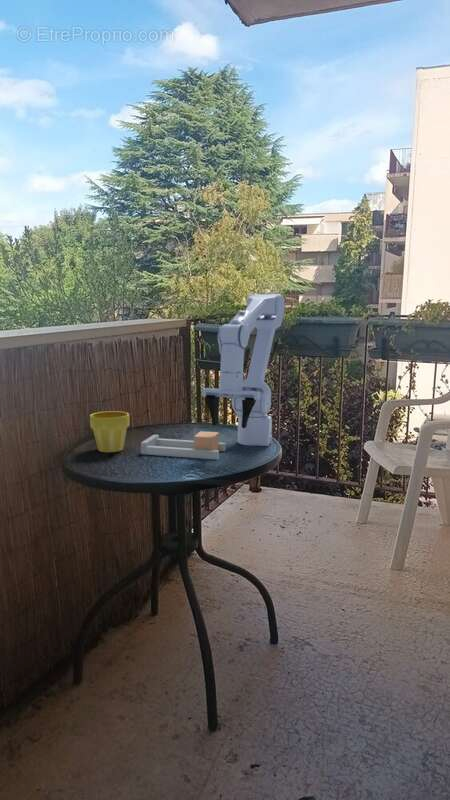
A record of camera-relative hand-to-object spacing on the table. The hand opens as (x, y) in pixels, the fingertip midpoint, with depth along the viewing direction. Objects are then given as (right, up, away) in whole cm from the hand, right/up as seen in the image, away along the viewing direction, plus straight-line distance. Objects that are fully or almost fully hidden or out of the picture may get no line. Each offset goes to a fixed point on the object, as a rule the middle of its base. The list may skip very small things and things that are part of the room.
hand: (229, 426), depth 135 cm
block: (-6, -7, +3) cm, 10 cm away
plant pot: (-32, -7, +9) cm, 34 cm away
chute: (-12, -8, +4) cm, 15 cm away
